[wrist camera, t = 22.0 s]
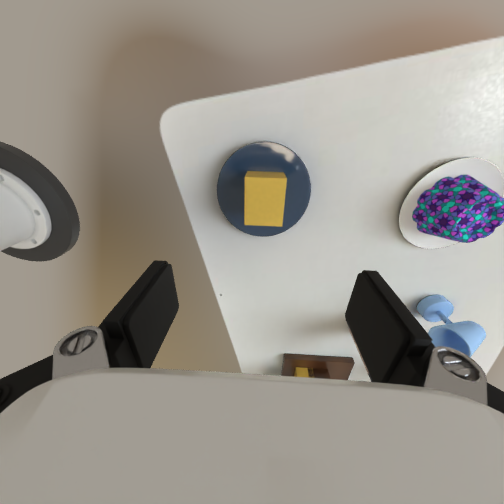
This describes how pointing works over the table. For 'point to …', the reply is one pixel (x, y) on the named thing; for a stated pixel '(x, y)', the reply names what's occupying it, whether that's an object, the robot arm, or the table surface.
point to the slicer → (318, 366)
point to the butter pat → (264, 198)
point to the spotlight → (450, 326)
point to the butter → (302, 372)
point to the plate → (263, 160)
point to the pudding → (454, 204)
